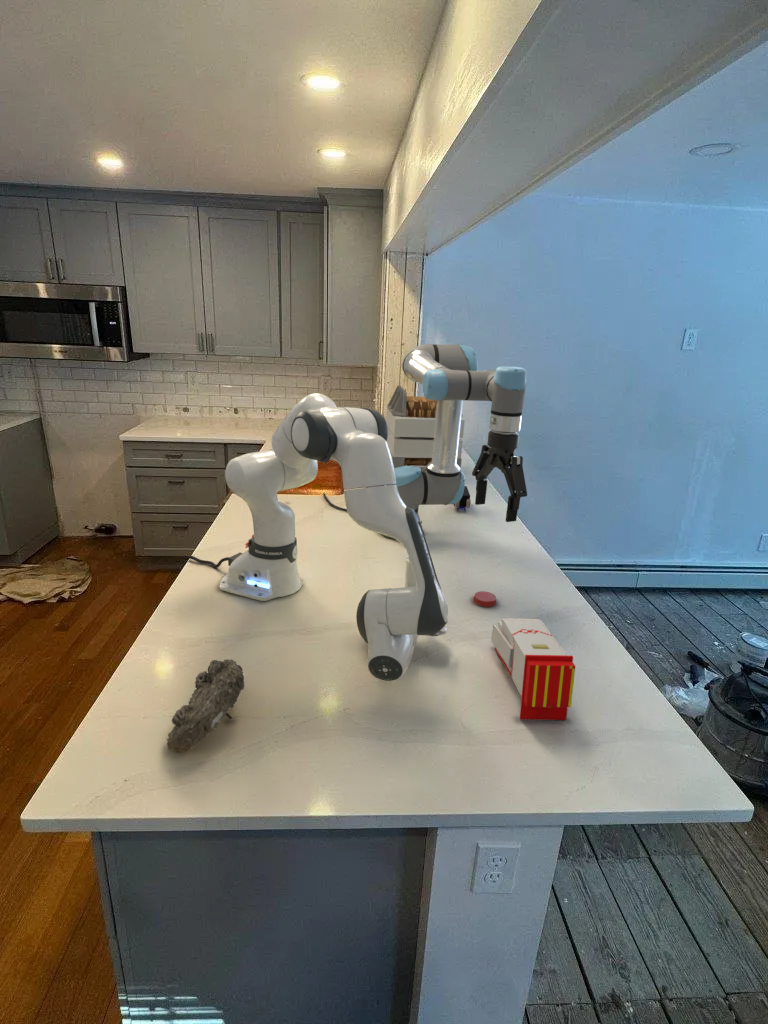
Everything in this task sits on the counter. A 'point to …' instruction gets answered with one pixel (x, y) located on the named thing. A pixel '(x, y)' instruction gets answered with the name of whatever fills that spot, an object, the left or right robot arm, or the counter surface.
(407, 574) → the jar
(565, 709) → the toy
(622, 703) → the counter surface
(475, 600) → the lid
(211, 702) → the fossil
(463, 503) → the figurine character
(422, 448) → the white wooden crate
